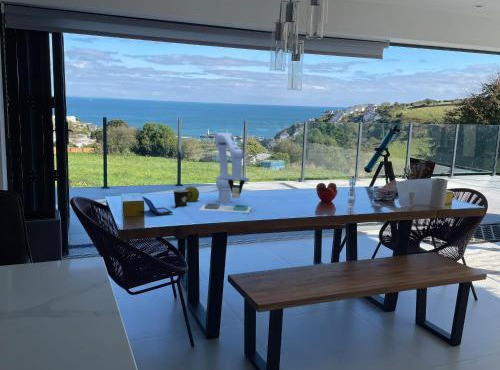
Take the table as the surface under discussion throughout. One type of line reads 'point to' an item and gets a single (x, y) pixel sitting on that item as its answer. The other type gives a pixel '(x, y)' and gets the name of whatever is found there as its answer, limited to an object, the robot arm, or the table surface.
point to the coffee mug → (181, 197)
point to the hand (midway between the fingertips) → (236, 193)
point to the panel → (226, 208)
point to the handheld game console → (156, 210)
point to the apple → (194, 194)
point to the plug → (235, 191)
